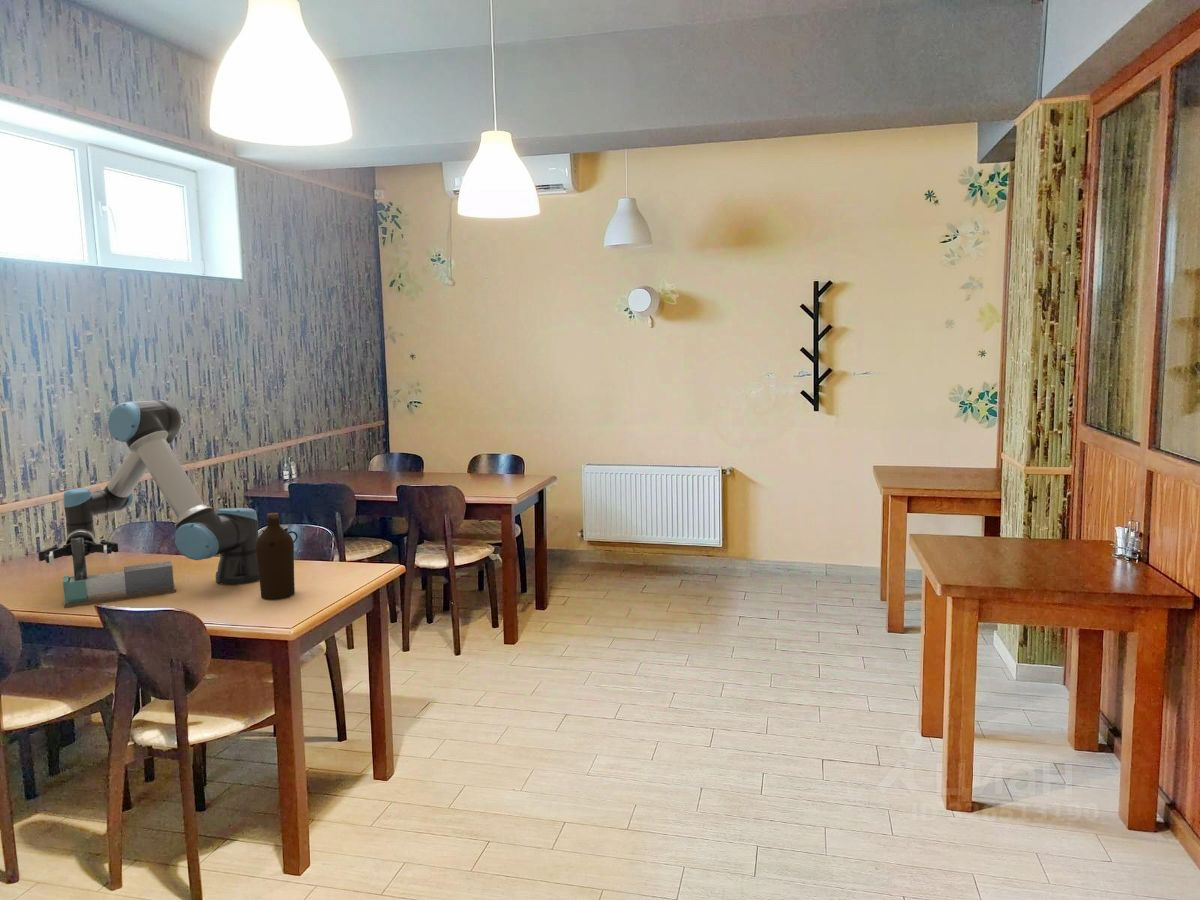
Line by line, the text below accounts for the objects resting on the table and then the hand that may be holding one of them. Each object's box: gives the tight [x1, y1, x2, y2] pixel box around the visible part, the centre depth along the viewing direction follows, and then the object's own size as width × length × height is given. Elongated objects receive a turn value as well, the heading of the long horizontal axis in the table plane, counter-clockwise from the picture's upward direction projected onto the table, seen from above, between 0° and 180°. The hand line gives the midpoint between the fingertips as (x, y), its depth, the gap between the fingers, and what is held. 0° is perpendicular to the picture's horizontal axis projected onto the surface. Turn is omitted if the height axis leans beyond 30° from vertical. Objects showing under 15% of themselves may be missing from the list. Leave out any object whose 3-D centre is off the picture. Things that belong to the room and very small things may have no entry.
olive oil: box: [256, 512, 296, 601], centre depth 249 cm, size 11×11×25 cm
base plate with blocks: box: [63, 560, 177, 609], centre depth 253 cm, size 29×10×8 cm, turn 121°
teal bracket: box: [62, 574, 88, 604], centre depth 247 cm, size 6×7×6 cm
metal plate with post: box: [70, 537, 126, 596], centre depth 250 cm, size 16×5×17 cm, turn 120°
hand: (78, 557), depth 244 cm, fingers open, 13 cm apart
